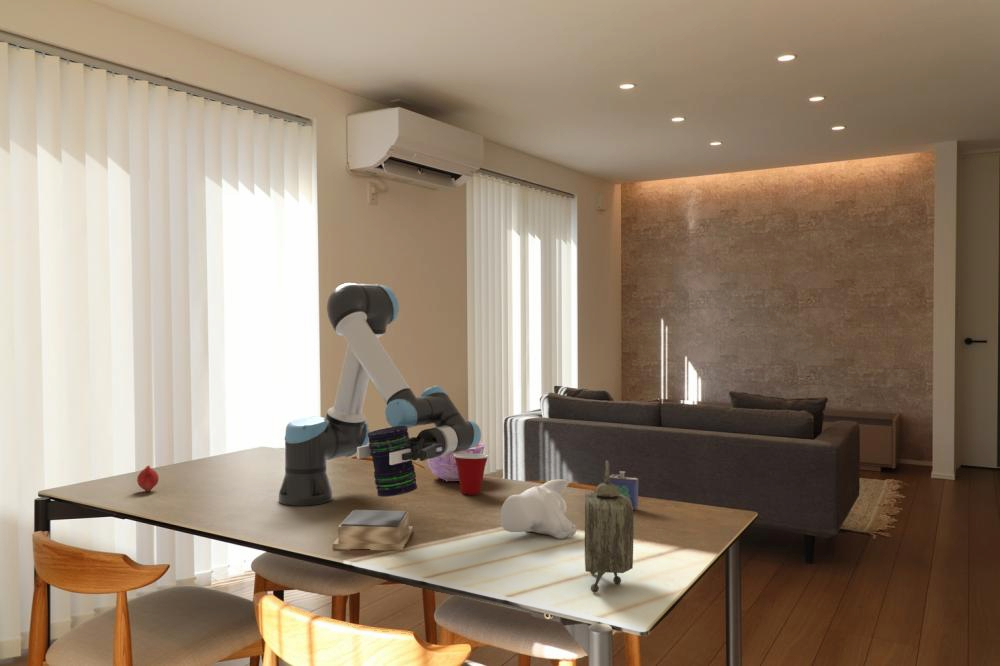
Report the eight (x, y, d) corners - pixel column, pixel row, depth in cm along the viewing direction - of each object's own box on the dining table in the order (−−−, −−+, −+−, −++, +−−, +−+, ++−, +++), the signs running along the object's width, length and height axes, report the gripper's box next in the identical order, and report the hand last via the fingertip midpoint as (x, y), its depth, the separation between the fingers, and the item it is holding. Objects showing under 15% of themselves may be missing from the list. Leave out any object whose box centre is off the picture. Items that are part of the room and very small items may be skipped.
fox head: (562, 520, 173) (602, 497, 190) (506, 485, 181) (548, 466, 198) (545, 568, 177) (585, 542, 193) (491, 532, 185) (534, 510, 202)
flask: (638, 509, 212) (639, 471, 212) (636, 511, 210) (637, 473, 210) (606, 506, 216) (607, 468, 216) (604, 508, 213) (604, 470, 213)
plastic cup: (490, 489, 235) (490, 451, 234) (486, 497, 224) (486, 457, 224) (455, 488, 236) (456, 450, 235) (450, 496, 225) (450, 456, 225)
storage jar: (368, 496, 181) (358, 435, 181) (399, 485, 189) (389, 426, 188) (395, 497, 175) (385, 434, 174) (426, 486, 182) (416, 425, 182)
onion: (132, 492, 225) (132, 465, 225) (148, 488, 231) (148, 462, 231) (147, 494, 223) (147, 467, 223) (162, 490, 228) (162, 464, 228)
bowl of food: (488, 485, 241) (489, 449, 241) (426, 486, 238) (426, 450, 237) (480, 472, 261) (480, 439, 260) (422, 473, 257) (422, 440, 257)
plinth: (332, 549, 173) (332, 525, 173) (349, 529, 189) (349, 508, 189) (401, 550, 172) (402, 527, 172) (413, 531, 188) (413, 509, 188)
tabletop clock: (584, 571, 160) (585, 453, 159) (627, 572, 159) (629, 455, 159) (585, 596, 146) (587, 467, 145) (633, 598, 145) (634, 468, 144)
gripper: (470, 462, 189) (409, 478, 171) (403, 451, 202) (341, 465, 184) (470, 432, 188) (409, 445, 170) (404, 423, 202) (341, 434, 184)
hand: (374, 455), depth 177 cm, fingers closed on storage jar, 10 cm apart
